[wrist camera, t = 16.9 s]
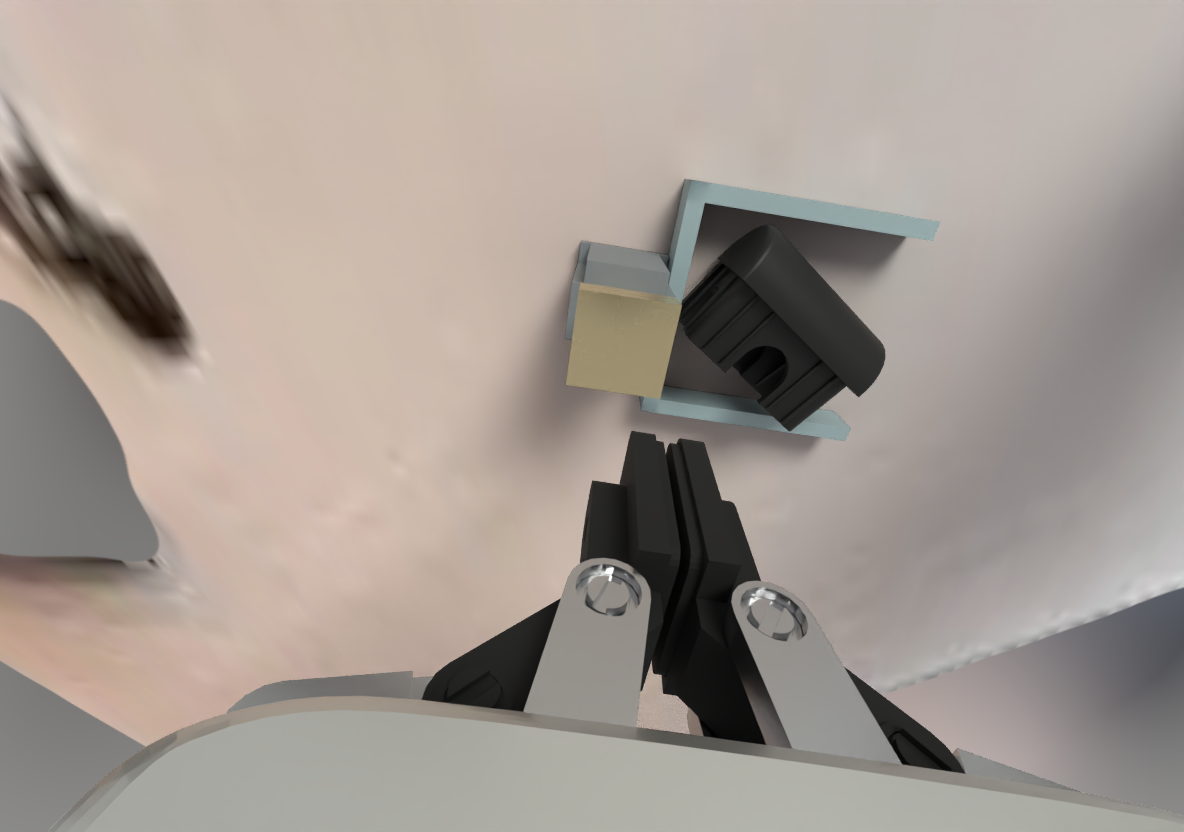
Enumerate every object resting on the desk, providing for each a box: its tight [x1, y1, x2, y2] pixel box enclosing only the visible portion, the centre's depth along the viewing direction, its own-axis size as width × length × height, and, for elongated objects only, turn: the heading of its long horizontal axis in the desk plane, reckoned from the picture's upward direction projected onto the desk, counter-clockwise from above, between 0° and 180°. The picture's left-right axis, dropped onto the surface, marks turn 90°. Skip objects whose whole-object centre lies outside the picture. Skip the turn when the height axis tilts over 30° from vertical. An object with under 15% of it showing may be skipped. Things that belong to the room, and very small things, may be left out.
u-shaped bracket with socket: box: [564, 179, 940, 441], centre depth 29 cm, size 14×20×7 cm
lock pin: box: [566, 282, 682, 399], centre depth 26 cm, size 4×4×10 cm
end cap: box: [679, 225, 885, 432], centre depth 29 cm, size 10×7×7 cm
